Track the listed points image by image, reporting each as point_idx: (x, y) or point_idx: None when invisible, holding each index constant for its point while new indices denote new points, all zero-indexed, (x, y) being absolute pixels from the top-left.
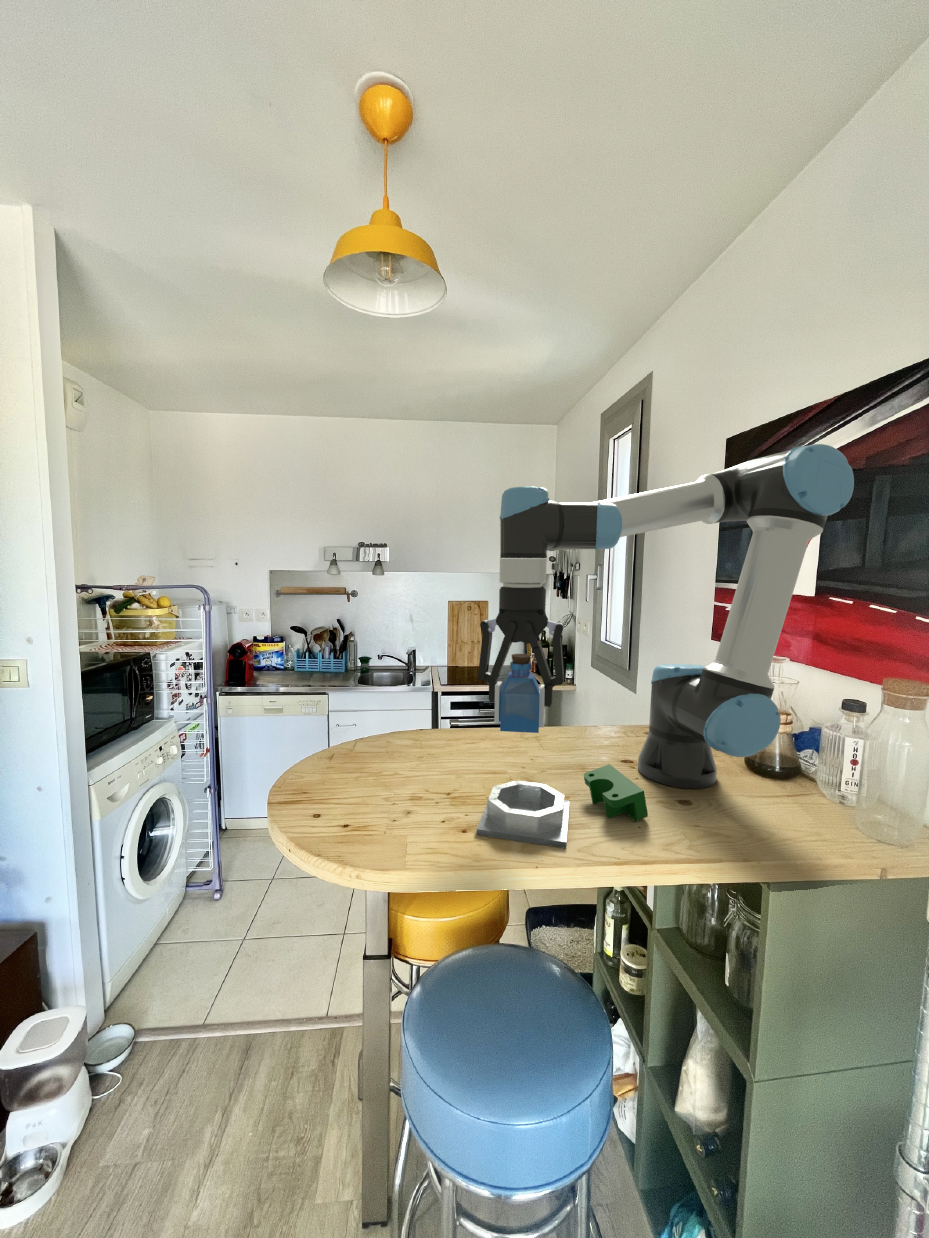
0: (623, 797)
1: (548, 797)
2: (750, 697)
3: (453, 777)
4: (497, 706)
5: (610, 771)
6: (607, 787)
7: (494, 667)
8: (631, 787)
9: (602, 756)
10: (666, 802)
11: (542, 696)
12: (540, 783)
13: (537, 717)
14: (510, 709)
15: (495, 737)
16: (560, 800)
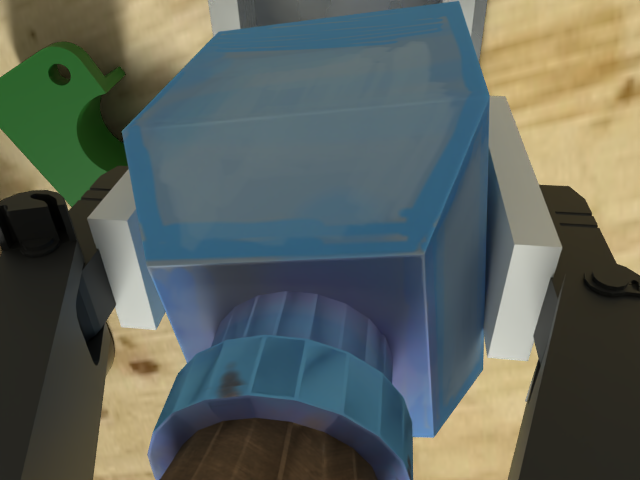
0: (29, 60)
1: None
2: None
3: (610, 206)
4: (501, 146)
5: None
6: (115, 161)
7: (627, 402)
8: (16, 118)
9: None
10: (11, 188)
11: (130, 180)
12: None
13: (198, 63)
14: (389, 58)
15: (485, 445)
16: (219, 7)
